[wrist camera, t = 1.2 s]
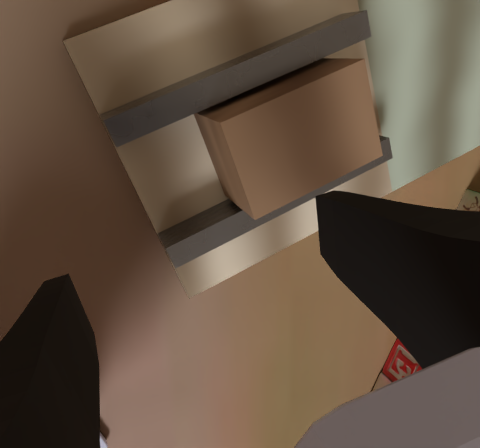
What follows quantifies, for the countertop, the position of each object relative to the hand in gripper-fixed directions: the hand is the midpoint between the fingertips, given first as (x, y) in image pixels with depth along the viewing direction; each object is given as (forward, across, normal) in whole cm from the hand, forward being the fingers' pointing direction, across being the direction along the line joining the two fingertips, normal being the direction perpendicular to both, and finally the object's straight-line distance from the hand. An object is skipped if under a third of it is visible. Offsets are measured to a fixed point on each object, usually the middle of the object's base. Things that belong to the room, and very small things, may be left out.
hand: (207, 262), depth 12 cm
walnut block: (+10, -6, 0) cm, 12 cm away
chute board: (+12, -11, -1) cm, 16 cm away
